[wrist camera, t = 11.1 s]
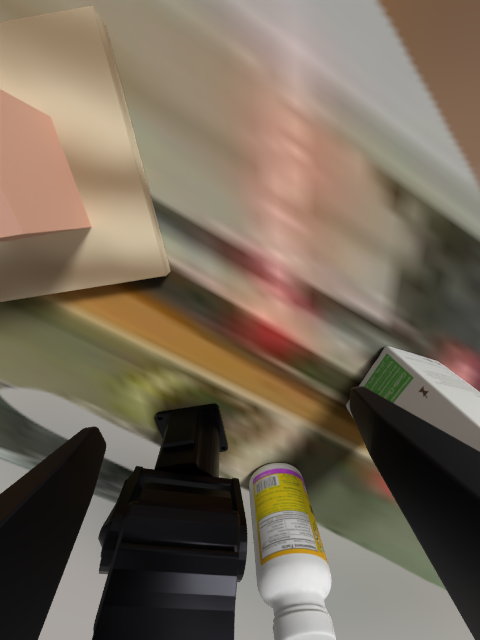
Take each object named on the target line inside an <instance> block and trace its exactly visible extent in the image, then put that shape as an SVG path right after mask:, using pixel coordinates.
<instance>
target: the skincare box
mask: <svg viewBox="0 0 480 640" xmlns="http://www.w3.org/2000/svg"><path fill="white" fill-rule="evenodd" d="M359 386H363V387H366V388H368V389H369V390H371V391H373V392H375V393H376V394H378V395H380V396H382V397H384V398H385V399H387V400H389V401H391V402H392V403H394V404H396V405H398V406H400V407H401V408H403V409H405V410H407V411H408V412H410V413H412V414H414V415H416V416H417V417H419V418H421V419H423V420H425V421H426V422H428V423H430V424H432V425H433V426H435V427H437V428H439V429H441V430H442V431H444V432H446V433H448V434H449V435H451V436H453V437H455V438H457V439H458V440H460V441H462V442H464V443H466V444H467V445H469V446H471V447H473V448H474V449H476V450H478V451H480V392H479V391H478V390H476V389H475V388H473V387H472V386H471V385H469V384H468V383H467V382H465V381H464V380H463V379H461V378H460V377H459V376H457V375H456V374H455V373H453V372H452V371H451V370H449V369H448V368H446V367H445V366H444V365H442V364H441V363H440V362H438V361H435V360H432V359H429V358H426V357H423V356H419V355H416V354H413V353H410V352H406V351H403V350H400V349H396V348H393V347H389V346H387V347H385V348H384V349H383V351H382V352H381V354H380V356H379V357H378V359H377V360H376V362H375V363H374V364H373V366H372V367H371V369H370V370H369V372H368V373H367V375H366V376H365V378H364V379H363V381H362V382H361V384H360V385H359ZM349 404H350V400H349V401H348V403H347V404H346V408H347V409H348V411H349V412H350V414H351V411H350V406H349ZM351 416H352V414H351ZM352 417H353V416H352ZM353 419H354V418H353ZM354 421H355V420H354Z"/></svg>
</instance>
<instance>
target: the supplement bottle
mask: <svg viewBox="0 0 480 640" xmlns="http://www.w3.org/2000/svg"><path fill="white" fill-rule="evenodd" d="M249 492H250V505H251V515H252V527H253V539H254V550H255V563H256V575H257V586H258V590H259V593H260V595H261V597H262V598H263V600H264V601H265V603H266V604H268V605H269V606H270V607H272V608H273V610H274V616H275V617H274V621H273V622H274V625H273V631H274V639H275V640H336V636H335V632H334V628H333V624H332V619H331V617H330V616H329V614H328V611H327V610H326V609H325V604H324V599H325V598H326V597H327V595H328V593H329V591H330V588H331V573H330V570H329V566H328V562H327V559H326V556H325V552H324V549H323V546H322V542H321V539H320V535H319V532H318V528H317V525H316V521H315V518H314V514H313V511H312V508H311V504H310V501H309V497H308V494H307V490H306V487H305V484H304V481H303V477H302V475H301V473H300V472H299V470H298V469H296V468H295V467H294V466H292V465H289V464H286V463H271V464H267V465H265V466H262V467H261V468H259V469H258V470H256V471H255V472H254V474H253V475H252V476H251V479H250V482H249Z"/></svg>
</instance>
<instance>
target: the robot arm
mask: <svg viewBox="0 0 480 640" xmlns="http://www.w3.org/2000/svg"><path fill="white" fill-rule="evenodd" d="M349 406H350V411H351V414H352V416H353V418H354V420H355V423H356V425H357V427H358V430H359V432H360V434H361V436H362V439H363V441H364V443H365V445H366V448H367V450H368V452H369V454H370V456H371V458H372V460H373V462H374V463H375V465H376V467H377V469H378V470H379V472H380V474H381V476H382V477H383V479H384V481H385V483H386V484H387V486H388V488H389V490H390V491H391V493H392V495H393V497H394V498H395V500H396V502H397V504H398V505H399V507H400V509H401V511H402V513H403V514H404V516H405V518H406V520H407V521H408V523H409V525H410V527H411V528H412V530H413V532H414V534H415V535H416V537H417V539H418V541H419V542H420V544H421V546H422V548H423V549H424V551H425V553H426V555H427V556H428V558H429V560H430V562H431V563H432V565H433V567H434V569H435V570H436V572H437V574H438V576H439V577H440V579H441V581H442V583H443V584H444V586H445V588H446V590H447V591H448V593H449V595H450V597H451V598H452V600H453V602H454V604H455V605H456V607H457V609H458V611H459V612H460V614H461V616H462V618H463V619H464V621H465V623H466V624H467V626H468V628H469V630H470V632H471V633H472V635H473V637H474V639H475V640H480V451H478V450H476V449H474V448H473V447H471V446H469V445H467V444H466V443H464V442H462V441H460V440H458V439H457V438H455V437H453V436H451V435H449V434H448V433H446V432H444V431H442V430H441V429H439V428H437V427H435V426H433V425H432V424H430V423H428V422H426V421H425V420H423V419H421V418H419V417H417V416H416V415H414V414H412V413H410V412H408V411H407V410H405V409H403V408H401V407H400V406H398V405H396V404H394V403H392V402H391V401H389V400H387V399H385V398H384V397H382V396H380V395H378V394H376V393H375V392H373V391H371V390H369V389H368V388H366V387H363V386H359V387H353V388H351V390H350V404H349ZM155 420H156V422H157V425H158V428H159V430H160V433H161V435H162V438H163V441H162V445H161V448H160V452H159V455H158V459H157V463H156V466H155V469H154V470H153V469H145V468H143V467H139V466H136V467H135V470H134V472H133V474H132V475H130V476H129V479H127V480H125V483H124V485H123V488H122V491H121V493H120V496H119V498H118V500H117V502H116V504H115V506H114V508H113V510H112V511H111V513H110V515H109V516H108V518H107V520H106V521H105V523H104V525H103V527H102V528H101V531H100V534H99V538H98V539H99V541H100V544H101V546H102V552H101V562H100V568H99V573H100V574H108V576H107V580H106V583H105V587H104V591H103V594H102V598H101V601H100V605H99V608H98V612H97V615H96V619H95V623H94V635H93V638H92V640H234V617H235V600H236V587H237V582H240V581H241V580H242V577H243V574H244V570H245V564H246V555H247V524H246V518H245V512H244V506H243V501H242V495H241V489H240V484H239V479H237V478H232V479H227V478H219V452H223V451H226V450H227V449H228V443H227V439H226V435H225V431H224V427H223V422H222V418H221V414H220V410H219V406H218V405H217V404H209V405H202V406H195V407H189V408H182V409H175V410H169V411H162V412H158V413H157V414H156V417H155ZM105 451H106V442H105V440H104V438H103V436H102V434H101V432H100V431H99V429H98V428H97V427H88V428H84V429H82V430H81V431H80V432H78V433H77V434H76V435H74V436H73V437H72V438H71V439H69V440H68V441H67V442H66V443H64V444H63V445H62V446H61V447H59V448H58V449H57V450H56V451H54V452H53V453H52V454H50V455H49V456H48V457H47V458H45V459H44V460H43V461H42V462H40V463H39V464H38V465H37V466H35V467H34V468H33V469H32V470H30V471H29V472H28V473H27V474H25V475H24V476H23V477H21V478H20V479H19V480H18V481H17V482H15V483H14V484H13V485H11V486H10V487H9V488H8V489H6V490H5V491H4V492H3V493H1V494H0V640H38V638H39V635H40V632H41V629H42V627H43V625H44V622H45V619H46V617H47V614H48V612H49V609H50V606H51V604H52V601H53V598H54V596H55V593H56V590H57V588H58V585H59V583H60V580H61V577H62V575H63V572H64V569H65V567H66V564H67V562H68V559H69V556H70V554H71V551H72V549H73V546H74V543H75V541H76V538H77V536H78V533H79V530H80V528H81V525H82V522H83V520H84V517H85V515H86V512H87V509H88V507H89V504H90V501H91V498H92V496H93V492H94V489H95V486H96V482H97V479H98V475H99V472H100V468H101V465H102V461H103V458H104V454H105Z"/></svg>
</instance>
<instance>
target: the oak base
mask: <svg viewBox="0 0 480 640" xmlns="http://www.w3.org/2000/svg"><path fill="white" fill-rule="evenodd" d="M0 89H1V90H3V91H5V92H6V93H8V94H10V95H12V96H14V97H16V98H17V99H19V100H21V101H23V102H25V103H27V104H28V105H30V106H32V107H34V108H36V109H37V110H39V111H41V112H43V113H45V114H47V115H48V116H50V117H51V119H52V121H53V124H54V127H55V129H56V132H57V135H58V137H59V140H60V143H61V146H62V148H63V151H64V154H65V156H66V159H67V162H68V164H69V167H70V170H71V173H72V175H73V178H74V181H75V183H76V186H77V189H78V191H79V194H80V197H81V199H82V202H83V205H84V208H85V210H86V213H87V216H88V218H89V221H90V224H91V226H92V227H89V228H83V229H77V230H71V231H64V232H58V233H52V234H46V235H40V236H34V237H28V238H22V239H15V240H9V241H3V242H0V302H4V301H10V300H16V299H23V298H29V297H35V296H42V295H48V294H54V293H60V292H67V291H73V290H79V289H86V288H92V287H98V286H104V285H111V284H117V283H123V282H130V281H136V280H142V279H148V278H155V277H161V276H167V275H168V273H169V272H170V271H171V270H170V267H169V263H168V259H167V255H166V252H165V248H164V244H163V240H162V237H161V233H160V229H159V225H158V222H157V218H156V214H155V210H154V206H153V203H152V199H151V195H150V191H149V188H148V184H147V180H146V176H145V173H144V169H143V165H142V161H141V158H140V154H139V150H138V146H137V143H136V139H135V135H134V131H133V127H132V124H131V120H130V116H129V112H128V109H127V105H126V101H125V97H124V94H123V90H122V86H121V82H120V79H119V75H118V71H117V67H116V64H115V60H114V56H113V52H112V48H111V45H110V41H109V37H108V33H107V30H106V26H105V25H104V23H103V22H102V20H101V19H100V17H99V15H98V14H97V12H96V11H95V9H94V8H93V6H87V7H82V8H76V9H71V10H65V11H59V12H54V13H48V14H42V15H37V16H31V17H26V18H20V19H14V20H9V21H3V22H0Z"/></svg>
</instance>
